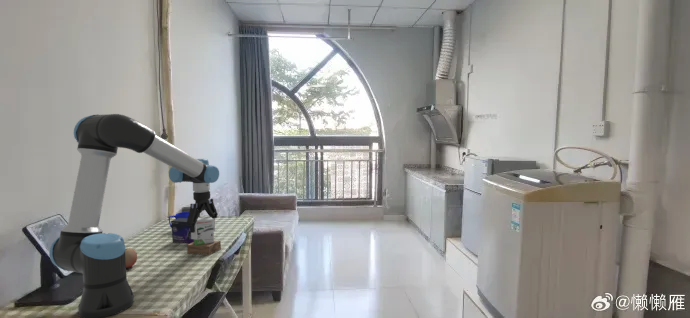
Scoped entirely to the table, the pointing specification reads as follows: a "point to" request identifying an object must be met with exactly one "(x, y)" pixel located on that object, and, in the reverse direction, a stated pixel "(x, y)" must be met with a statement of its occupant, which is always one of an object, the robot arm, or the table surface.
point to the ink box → (204, 231)
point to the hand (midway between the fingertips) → (203, 235)
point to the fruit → (130, 257)
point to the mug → (179, 216)
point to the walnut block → (204, 248)
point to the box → (181, 231)
